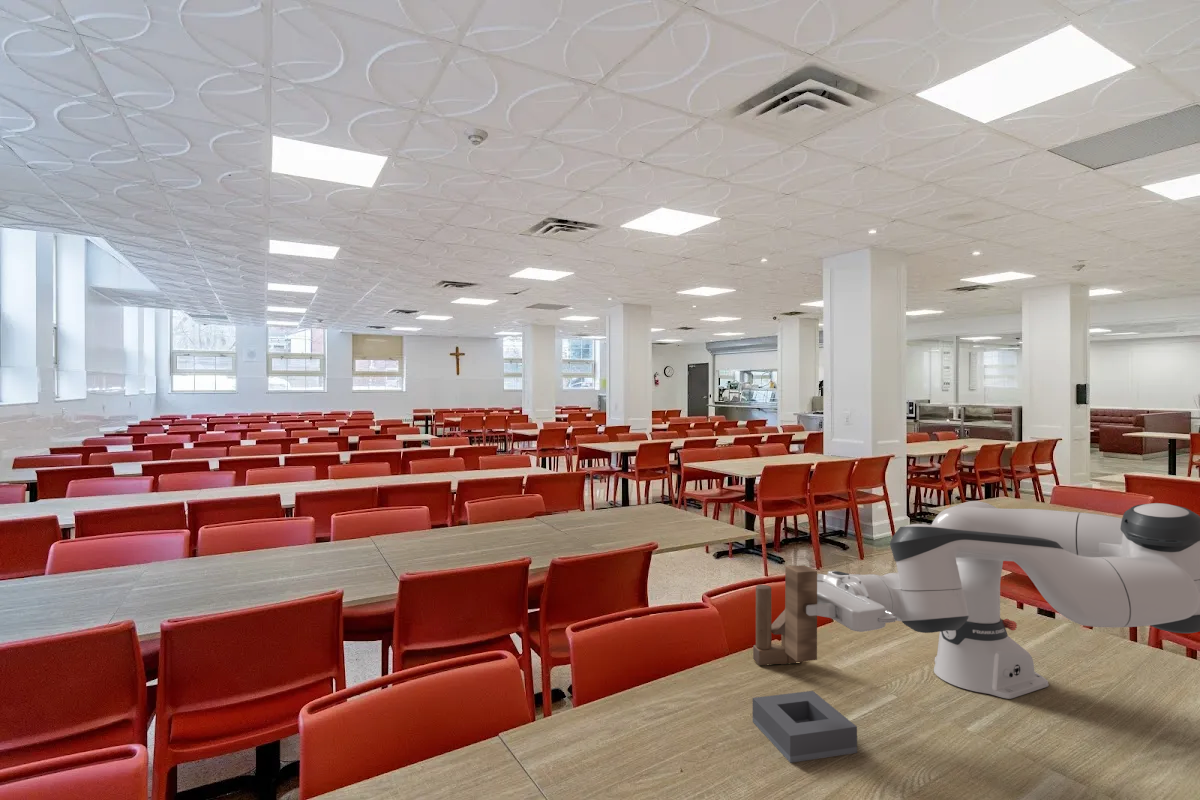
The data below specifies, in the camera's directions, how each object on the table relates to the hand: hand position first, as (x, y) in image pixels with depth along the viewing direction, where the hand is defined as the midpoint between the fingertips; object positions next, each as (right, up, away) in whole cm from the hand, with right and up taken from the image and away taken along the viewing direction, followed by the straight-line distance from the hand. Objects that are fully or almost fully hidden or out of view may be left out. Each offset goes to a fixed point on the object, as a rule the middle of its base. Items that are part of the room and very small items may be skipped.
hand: (796, 604), depth 104 cm
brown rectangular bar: (+1, -10, 0) cm, 10 cm away
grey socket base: (+1, -24, 0) cm, 24 cm away
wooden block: (+6, -25, +30) cm, 40 cm away
